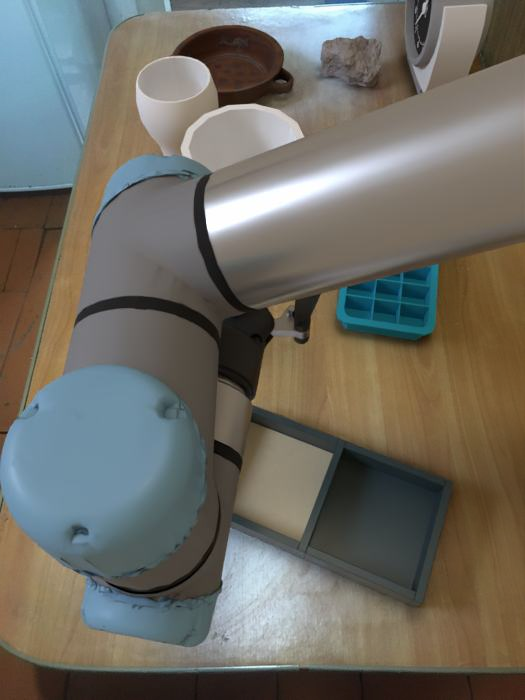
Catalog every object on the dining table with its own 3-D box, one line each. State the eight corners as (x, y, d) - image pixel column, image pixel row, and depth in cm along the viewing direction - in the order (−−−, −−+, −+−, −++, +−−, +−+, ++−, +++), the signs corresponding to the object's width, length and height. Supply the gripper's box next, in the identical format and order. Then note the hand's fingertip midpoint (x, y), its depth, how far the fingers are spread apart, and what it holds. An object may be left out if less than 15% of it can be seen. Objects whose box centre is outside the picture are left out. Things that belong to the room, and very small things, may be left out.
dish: (185, 44, 98) (180, 16, 94) (305, 61, 95) (307, 32, 91) (150, 106, 90) (144, 78, 86) (281, 127, 87) (281, 99, 83)
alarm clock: (393, 45, 97) (419, -92, 79) (442, 42, 97) (478, -95, 79) (413, 112, 88) (447, -25, 70) (466, 109, 88) (513, -29, 70)
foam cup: (182, 252, 53) (156, 141, 42) (254, 203, 56) (248, 88, 45) (247, 312, 50) (237, 209, 38) (320, 257, 53) (331, 146, 41)
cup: (147, 193, 81) (121, 102, 68) (163, 143, 86) (142, 50, 73) (218, 199, 80) (206, 108, 67) (230, 148, 85) (222, 55, 72)
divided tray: (444, 491, 58) (454, 481, 55) (414, 607, 53) (422, 604, 50) (242, 413, 63) (240, 400, 60) (195, 512, 58) (190, 503, 55)
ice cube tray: (436, 224, 76) (441, 208, 74) (428, 348, 67) (434, 336, 64) (352, 213, 78) (354, 198, 75) (332, 334, 68) (334, 320, 65)
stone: (379, 92, 90) (385, 58, 85) (319, 92, 91) (320, 58, 86) (378, 62, 94) (383, 28, 89) (320, 62, 95) (321, 28, 90)
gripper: (69, 393, 43) (146, 185, 53) (353, 434, 40) (374, 208, 51) (31, 344, 36) (127, 118, 47) (368, 390, 34) (387, 141, 45)
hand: (256, 165), depth 49 cm, fingers closed on foam cup, 9 cm apart
